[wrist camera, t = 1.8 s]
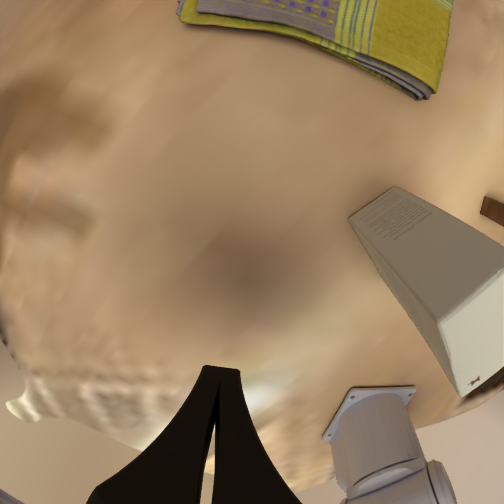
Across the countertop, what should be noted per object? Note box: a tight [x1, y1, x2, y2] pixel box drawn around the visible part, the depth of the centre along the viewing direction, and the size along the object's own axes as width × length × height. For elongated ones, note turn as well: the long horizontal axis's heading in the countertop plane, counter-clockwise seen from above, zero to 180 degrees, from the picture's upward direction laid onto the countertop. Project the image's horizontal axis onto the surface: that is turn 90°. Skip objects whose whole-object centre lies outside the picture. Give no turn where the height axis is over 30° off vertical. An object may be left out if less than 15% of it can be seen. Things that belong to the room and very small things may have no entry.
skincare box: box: [348, 186, 504, 397], centre depth 14 cm, size 6×4×12 cm
